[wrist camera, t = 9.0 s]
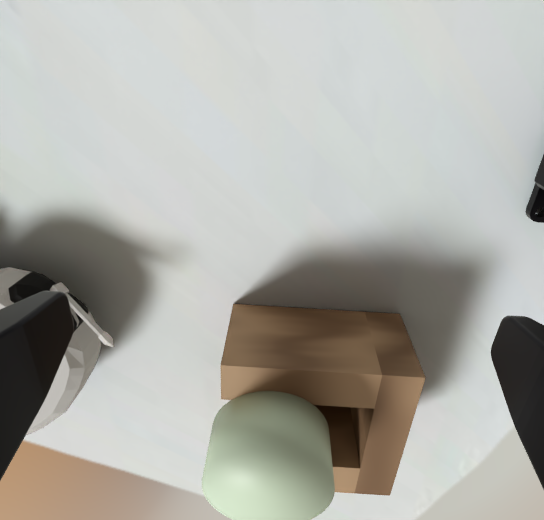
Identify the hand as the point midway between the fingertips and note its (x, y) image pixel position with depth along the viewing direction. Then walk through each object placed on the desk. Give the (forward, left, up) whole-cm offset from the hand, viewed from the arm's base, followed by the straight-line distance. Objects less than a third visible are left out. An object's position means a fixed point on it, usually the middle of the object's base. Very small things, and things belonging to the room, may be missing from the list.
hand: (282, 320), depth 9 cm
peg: (0, +13, -10) cm, 17 cm away
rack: (-2, +13, -12) cm, 18 cm away
